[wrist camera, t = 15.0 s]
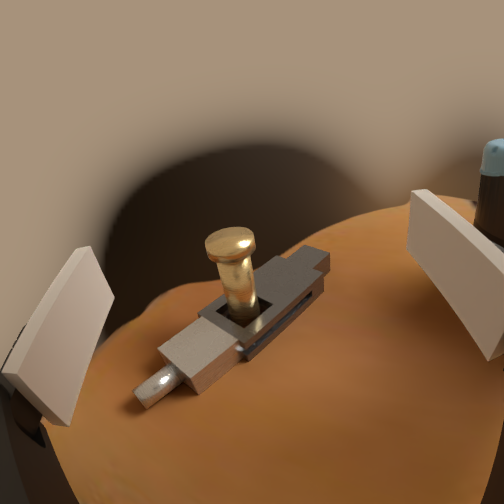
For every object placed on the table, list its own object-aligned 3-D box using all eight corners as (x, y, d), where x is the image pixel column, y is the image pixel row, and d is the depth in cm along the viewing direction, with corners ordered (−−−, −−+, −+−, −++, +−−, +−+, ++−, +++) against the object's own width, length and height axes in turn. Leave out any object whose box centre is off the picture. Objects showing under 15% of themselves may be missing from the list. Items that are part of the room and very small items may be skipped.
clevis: (296, 258, 55) (295, 241, 54) (340, 274, 50) (340, 256, 48) (127, 386, 36) (116, 370, 34) (165, 430, 30) (153, 415, 28)
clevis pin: (247, 307, 46) (230, 223, 39) (276, 323, 43) (263, 233, 36) (219, 329, 43) (195, 243, 36) (248, 347, 40) (227, 257, 32)
